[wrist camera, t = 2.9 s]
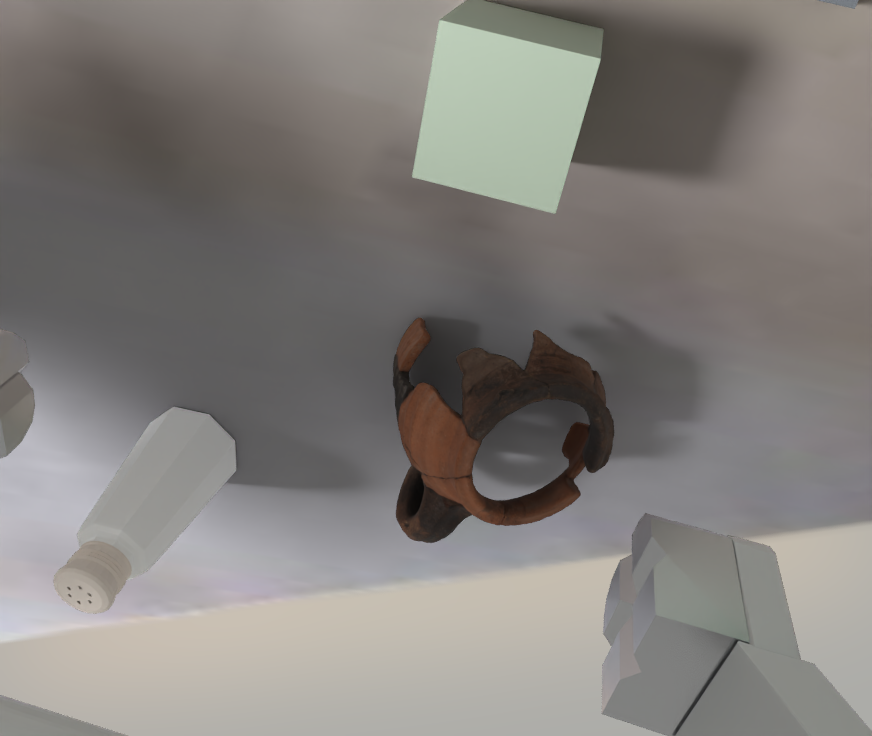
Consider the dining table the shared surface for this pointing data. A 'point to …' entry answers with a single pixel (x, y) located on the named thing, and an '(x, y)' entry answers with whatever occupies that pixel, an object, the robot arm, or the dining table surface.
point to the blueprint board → (843, 2)
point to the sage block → (506, 102)
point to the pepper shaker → (147, 506)
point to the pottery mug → (481, 410)
